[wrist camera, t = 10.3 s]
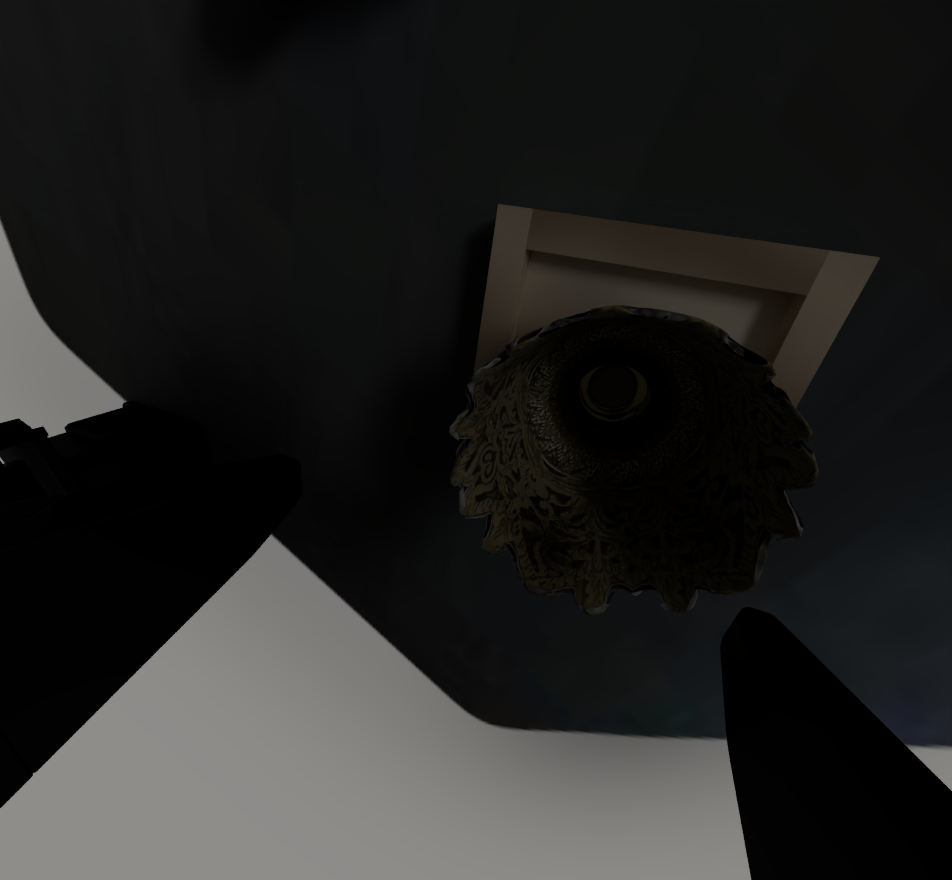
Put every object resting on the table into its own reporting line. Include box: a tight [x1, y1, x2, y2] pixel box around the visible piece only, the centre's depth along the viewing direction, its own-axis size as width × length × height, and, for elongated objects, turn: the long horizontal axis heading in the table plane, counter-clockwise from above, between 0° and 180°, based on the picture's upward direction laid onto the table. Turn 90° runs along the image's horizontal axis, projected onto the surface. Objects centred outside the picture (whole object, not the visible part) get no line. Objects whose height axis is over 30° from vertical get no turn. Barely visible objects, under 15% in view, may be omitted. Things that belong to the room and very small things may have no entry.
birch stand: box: [473, 204, 880, 408], centre depth 15 cm, size 11×11×2 cm
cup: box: [449, 305, 818, 616], centre depth 12 cm, size 8×7×8 cm
